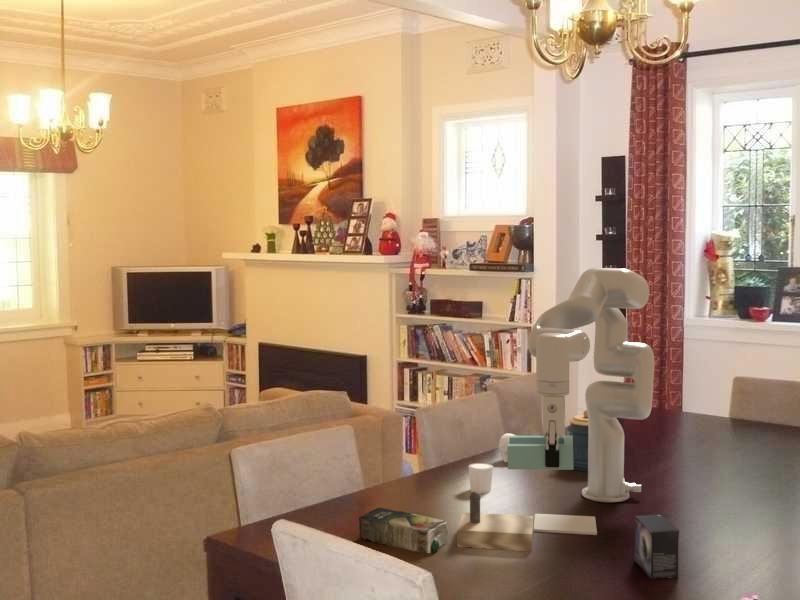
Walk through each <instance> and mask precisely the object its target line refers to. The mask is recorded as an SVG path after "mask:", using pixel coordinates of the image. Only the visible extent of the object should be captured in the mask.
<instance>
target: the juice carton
mask: <svg viewBox="0 0 800 600" xmlns="http://www.w3.org/2000/svg"><path fill="white" fill-rule="evenodd" d="M358 521H359V538H360V540H364V541H365V540H366V539H367V540H370V541H371V542H372V543H374V544H380V545H384V546H387V547H393V548H399V549H403V550H408V551H412V552H415V551H419V552H418V553H421V552H423V553H422V554H425V553H430V554H432V553H435V552H436V551H437V550H438V549H440V548H441V547H442V546H444V545H445V544H444V543H446V542H447V543H448V534H449V530H448V524H449V523H448V521H446V520H443V519H440V518H434V517H430V516H425V515H420V514H415V513H411V512H406V511H401V510H400V511H399V510H393V509H390V508H387V507H385V508H384V507H376V508H374V509H372V510H371V511H369V512H367V513H365V514H363V515H360V517H358ZM447 543H446V544H447ZM443 544H444V545H443ZM440 546H441V547H440ZM439 547H440V548H439Z"/></svg>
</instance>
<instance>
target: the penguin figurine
mask: <svg viewBox="0 0 800 600" xmlns="http://www.w3.org/2000/svg"><path fill="white" fill-rule="evenodd" d="M510 436H517V435H516V434H514V433H504V434H503V435H502V436H500V437H501V438H500V439H499V443H498V449H499V453H500V456H501V459H502V460H503V462H504V463H507V464H508V455H507V445H508V444H509V437H510Z"/></svg>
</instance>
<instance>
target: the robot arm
mask: <svg viewBox="0 0 800 600" xmlns="http://www.w3.org/2000/svg"><path fill="white" fill-rule="evenodd" d="M649 298H650V286H649V284H648V281H647V280H646V279H645V278H644V277H643V276H641V275H640V274H638V273H637V272H635V271H633V270H630V269H627V268H616V267H615V268H612V267H610V268H609V267H607V268H606V267H604V268H603V267H594V268H593V267H592V268H588V269H586V270H585V271H583V273H581V275H580V277H579V279H577V282H576V284H575V286H574V288H573V290H572V292H571V293H570V295H569V297H568V299H567V300H564V301H562V302H559V303H558V304H556V305H554V306H553V307H551V308H549V309H547V310H546V311H544V312H543V313H542V314H541V315H540V316H538V318H537V320H536V321H535V323H534V325H533V327H532V329H531V331H530V334H529V337H528V342H527V344H528V345H527V347H528V351H529V353H530V354H531V355H532V357H534V358H535V362H536V363H535V364H536V365H535V367H536V368H535V379H536V380H535V393H536V395H538V396H541V399H540V400H541V406H540V407H541V427H542V436H543V437H544V438H546V450H545V466H546V467H557V468H558V467H559V450H558V439H559V438H558V436H559V437H562V439H563V438H565V436H566V398H565V397H566V396H569V394H570V363H571V362H572V363H574V362H579V361H582V360H583V359H585V358H586V357H587V356H588V354H589V351H590V350H591V349H590V348H591V342H590V341H591V340H590V338H589V335H588V334H586V332H584V331H583V330H580V329H578V328H581V327H585V326H588V325H590V324H592V323H595V328H594V329H595V330H594V331H595V332H594V333H595V334H594V347H593V368H594V370H595V372H596V373H597V374H599V375H603V376H608V377H617V378H618V377H620V378H629V379H632V380H633V382H622V381H614V380H596V381H593V382H591V383H590V384H588V385H587V388H586V390H585V394H584V395H585V396H584V397H585V399H584V400H585V405H586V406H585V407H586V410H587V413H588V471H587V486H585V487H584V488H582V489H581V495H582V497H584V498H585V499H588V500H590V501H593V502H594V501H595V502H600V503H622V502H625V501H626V500H628V499H629V498H630V492H633V493H641V492H642V484H636V483H635V482H631V483H629V482H627V481H625V477H624V475H625V473H624V472H625V432H624V428H623V426H622V424H621V423H620V421H619V420H618V419H626V420H627V419H628V420H640V421H641V420H645V419H648V417H650V414H651V411H652V409H653V398H654V397H653V396H654V395H653V393H654V379H655V377H654V376H655V356H654V351H653V349H652V347H651V346H650V345H649V344H646V343H643V342H634V341H632V342H631V341H628V329H629V328H628V321H627V319H626V317H625V316H624V314H623V313H622V311H621V310H620V309H627V310H628V309H630V310H631V309H632V310H640V309H642V308H644V307H645V306H646V305H647V304H648V301H649Z"/></svg>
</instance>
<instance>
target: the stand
mask: <svg viewBox="0 0 800 600" xmlns="http://www.w3.org/2000/svg"><path fill="white" fill-rule="evenodd" d="M534 518H535V515H522V514H521V515H520V514H518V515H517V514H501V513H499V514H498V513H483V512H482V513H481V493H478V492H476V491H474V492H472V491H471V493H470V494H469V512H462V515H461V517H460V521H459V524H458V527H457V530H456V532H457V533H456V536H457V537H456V538H457V539H456V544H457V545H456V546H458V547H457V548H464V547H472V548H471V549H482V548H487V549H486V550H499V549H502V551H503V550H504V551H518V552H519V551H520V552H521V551H522V552H533V541H534V532H533V531H534Z"/></svg>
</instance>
